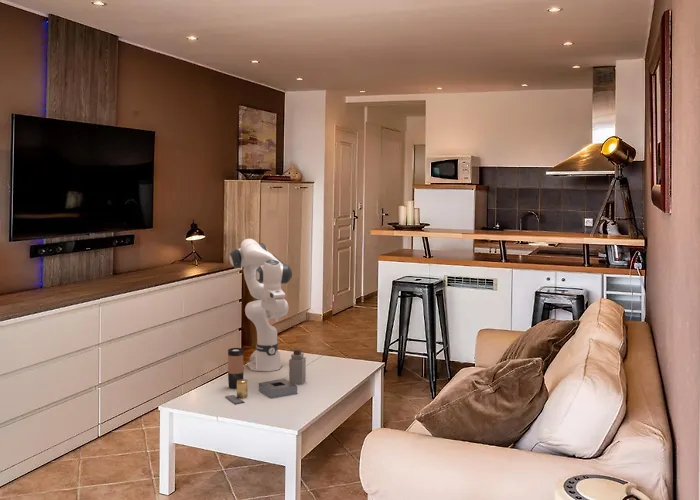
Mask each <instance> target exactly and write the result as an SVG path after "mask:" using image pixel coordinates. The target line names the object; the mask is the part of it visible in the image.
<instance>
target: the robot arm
mask: <svg viewBox="0 0 700 500" xmlns="http://www.w3.org/2000/svg"><path fill="white" fill-rule="evenodd" d="M228 259H229V262H230V264H231V265H232V267H233V268H234V269H241V268H243V275H244V280H245V283H246V287H247V289H248V291H249V294H250V296H251V297H253V298H254V299H257V300H253V301H249V302H248V303H246V305H245V308H244V312H245V316H246V317H247V319H248V320H250V321H251V322H252V323H253V324H254V326H255V329H256V339H257V341H256V344H255V350H254V351H253V353H251V355H250V356H249V361H248V362H246V366H247V367H248V368H249V369H250V370H251V371H253V372H256V371H257V372H258V371H259V372H273V371H278V370H280V369H281V368H282V367H284V365H283V363H282V362H281V361H282V360H281V359H282V358H281V352H280V351H279V343H278V329H277V328H276V327H275V326H273V325H271V324H270V323H269V320H270V319H274V322H279V321H280V318H282V317H285V316H286V315H287V314H288V312H289V310H290V309H289V308H290V306H289V303H288V301H287V300H286V299H285V298H286V293H285V292H284V291H283V289H282V284H287V283H289V282H290V281H291V279H292V277H293V272H292V268H291V267H290V266H289V265H288V264H287V263H284V262H283V261H282V260H281V259H280V258H279V257H277V256H276V255H275V254H273V253H272V252H270V251H268V248H267V246H266V244H264V242H263V243H262V242H257V241H256V240H255V239H253V238H245V239H244V240H242V242H241V243H240V247H239V248H237V249H234V250H232V251H231V252H230V253H229V258H228Z"/></svg>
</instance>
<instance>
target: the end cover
mask: <svg viewBox="0 0 700 500" xmlns="http://www.w3.org/2000/svg"><path fill="white" fill-rule="evenodd" d="M248 395H249V394H248V380H247V379H245V378H243V379H240V380H237V389H236V397H237V398H239V399H241V400H244V399H248Z"/></svg>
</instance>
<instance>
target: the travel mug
mask: <svg viewBox="0 0 700 500" xmlns="http://www.w3.org/2000/svg"><path fill="white" fill-rule="evenodd" d="M244 370H245V368H244V349H243V348H241V347H232V348H228V349H227V375H228V378H227V379H228V381H227V382H228V389H230V390H237V380H240V379H244V375H245V374H244Z"/></svg>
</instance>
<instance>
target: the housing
mask: <svg viewBox="0 0 700 500" xmlns="http://www.w3.org/2000/svg"><path fill="white" fill-rule="evenodd" d="M258 392H260V393H262V394H263V395H265V396H267V397H268V398H269V399H275V398H279V397H287V396H291V395H298V384H293V383H292V382H290V381H289V379H286V378H280V379H273V380H268V381H261V382H258Z"/></svg>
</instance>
